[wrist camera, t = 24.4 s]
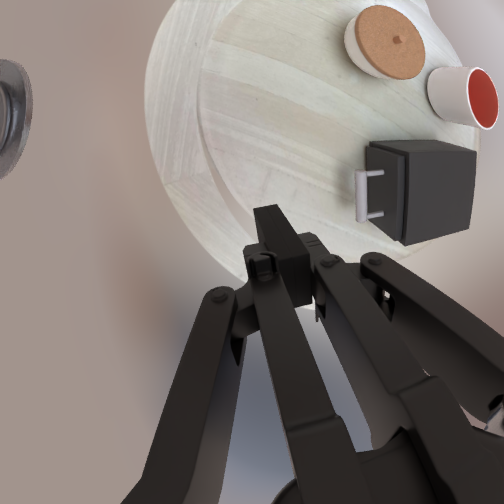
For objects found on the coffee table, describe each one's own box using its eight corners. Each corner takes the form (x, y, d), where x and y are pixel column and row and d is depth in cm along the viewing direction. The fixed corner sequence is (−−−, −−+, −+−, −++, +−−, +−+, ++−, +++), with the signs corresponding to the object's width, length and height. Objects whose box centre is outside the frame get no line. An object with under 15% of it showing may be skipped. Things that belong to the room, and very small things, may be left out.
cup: (416, 71, 30) (459, 69, 21) (450, 65, 29) (490, 65, 20) (433, 126, 35) (475, 136, 26) (463, 115, 34) (503, 123, 25)
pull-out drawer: (343, 224, 40) (367, 247, 33) (339, 149, 35) (367, 158, 28) (428, 207, 41) (457, 225, 34) (431, 144, 35) (463, 153, 28)
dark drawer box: (371, 219, 41) (404, 246, 33) (369, 141, 35) (409, 152, 27) (433, 207, 42) (469, 229, 33) (436, 139, 36) (476, 151, 27)
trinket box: (323, 61, 29) (355, 48, 21) (342, 7, 25) (374, -13, 17) (384, 94, 32) (424, 94, 24) (400, 42, 28) (438, 34, 19)
